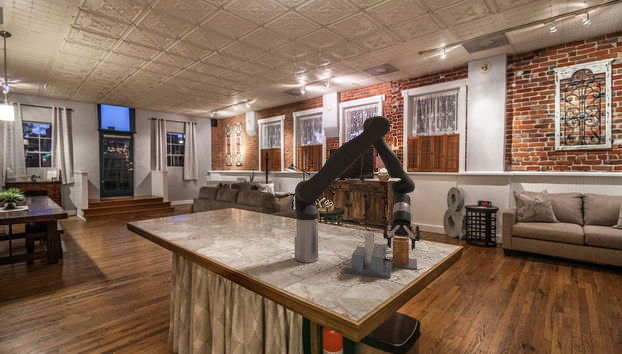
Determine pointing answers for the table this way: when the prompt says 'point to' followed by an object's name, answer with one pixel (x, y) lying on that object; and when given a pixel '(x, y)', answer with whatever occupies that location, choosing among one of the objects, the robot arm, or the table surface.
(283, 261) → the table surface
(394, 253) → the sleeve
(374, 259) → the vise
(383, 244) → the mechanical component
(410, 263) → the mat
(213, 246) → the table surface
